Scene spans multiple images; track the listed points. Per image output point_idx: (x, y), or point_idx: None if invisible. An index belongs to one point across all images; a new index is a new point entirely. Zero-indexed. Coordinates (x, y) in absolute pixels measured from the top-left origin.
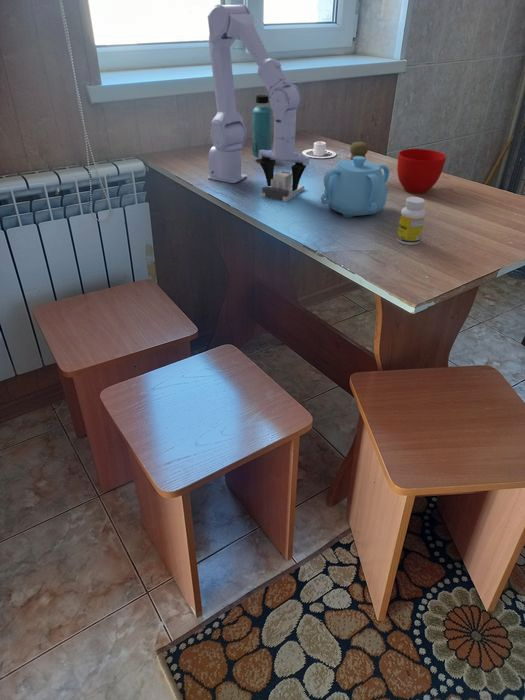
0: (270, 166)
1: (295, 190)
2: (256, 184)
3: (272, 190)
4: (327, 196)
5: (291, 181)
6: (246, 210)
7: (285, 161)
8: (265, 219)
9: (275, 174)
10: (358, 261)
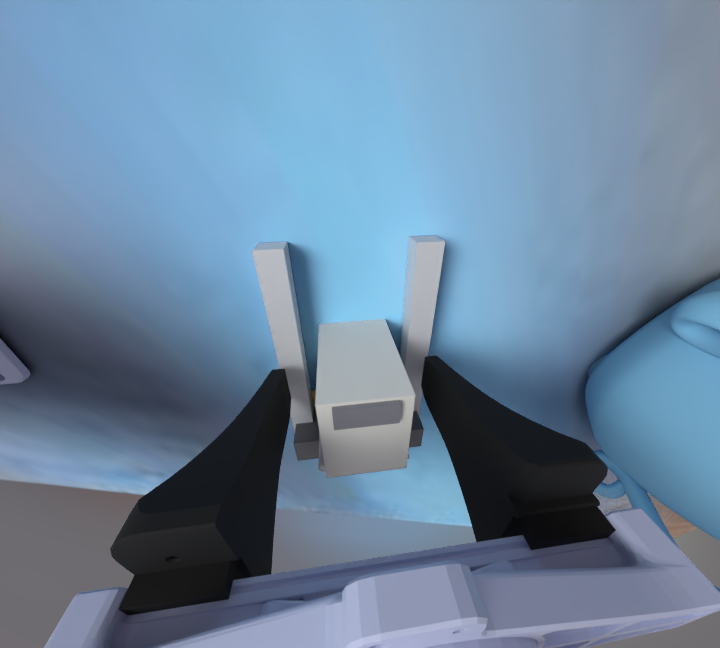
0: (264, 509)
1: (424, 350)
2: (132, 311)
3: None
4: (619, 480)
5: (398, 357)
6: (333, 505)
7: (412, 563)
8: (409, 511)
9: (326, 465)
10: None
